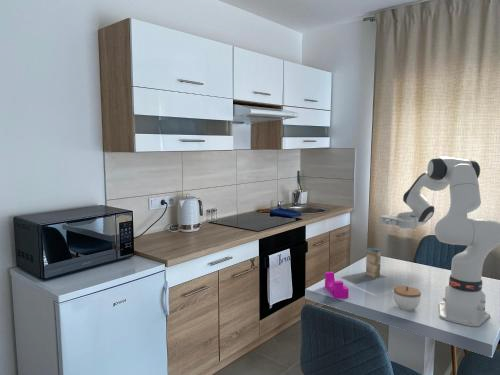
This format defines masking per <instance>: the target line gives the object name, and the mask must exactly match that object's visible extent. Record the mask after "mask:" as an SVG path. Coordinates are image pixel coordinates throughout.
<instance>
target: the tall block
mask: <svg viewBox="0 0 500 375" xmlns="http://www.w3.org/2000/svg"><path fill="white" fill-rule="evenodd" d="M381 252H382V250H381V249H380V248H377V247H369V248H366V260H365V262H366V265H365V267H366V268H365V272H366V274H367V275H369V276H372V277H376V276H380V275H381V258H382V257H381V256H382V253H381Z"/></svg>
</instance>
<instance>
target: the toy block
mask: <svg viewBox="0 0 500 375" xmlns="http://www.w3.org/2000/svg"><path fill="white" fill-rule="evenodd" d="M324 288H325V289H326V290H327V291H328V292H329V294H330V295H331V296H332V297H333V299H348V298H349V288H348V287H347V286H346V285H344V281H342V280H335V272H334V271H325V272H324Z"/></svg>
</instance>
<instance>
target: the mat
mask: <svg viewBox="0 0 500 375" xmlns="http://www.w3.org/2000/svg"><path fill="white" fill-rule="evenodd" d="M340 278H341V279H343V280H346V281H348V282H350V283H353V284H356V285H357V284H361V283H366V282H370V281H375V280H379V279H382V278H383V279H384V278H387V276H385V275H383V274H380V276H376V277H372V276H369V275H367V274H366V271H363V272H359V273H358V272H357V273H354V274H349V275H345V276H340Z"/></svg>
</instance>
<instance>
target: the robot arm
mask: <svg viewBox="0 0 500 375" xmlns="http://www.w3.org/2000/svg"><path fill="white" fill-rule="evenodd" d="M480 175H481V167H480V165H479V163H478V162H477V161H476V160H472V159H463V158H456V157H450V156H439V157H434V158H431V159H430V160H429V162H428V164H427V170H426V172H423V173H421V174H420V175H419V176H418V177H417V179H415V181H414V182H413V184H412V185H411V186H410V187H409V189H407V191H405V192H404V194H403V195H402V196H403V197H402V201H403V202H404V203H405V204H406V205H407V206H408V207H409V209H410V210H411V211H410V212H409V211H404V212H400V213H397V215H396V216H395V215H389V214H387V215H386V214H385V215H383V214H382V215H379V219H378V221H379V222H380V223H382V224H384V225H390V226H391V225H392V226H396V227H398V228H400V229H403V230H405V229H411V230H412V229H413V230H417V229H418V228H419V227H422V226H424V225H426V223H428V221H430V220H431V219H432V217H433V216H434V214H435V206H434V205H433V204H432V203H431V201H429V200H428V199H427V198H426V197H425V196H424V194H422V191H421V190H422V189H423V188H424V187H425V188H427V189H428V190H430V191H434V192H437V191H438V192H440V191H444V190H445V189H446V188H447V187H448V186H449V196H450V198H449V199H450V202H449V203H450V205H449V209H448V211H447V213H446V215H445V216H443V217H442V218H441V219H439V220H438V221H437V223H436V224H435V226H434V235H435V237H436V239H437V240H438V241H439V242H440V243H443V244H447V245H448V244H449V245H452V246H453V245H454V246H455V245H456V246H467V247H466V248H465V249H464V250H463V251H462V252H458V253H457V254H455V255H454V256H453V257H452V259H451V268H450V270H451V271H450V275H449V278H448V285H446V286H445V290H444V291H445V292H444V293H445V294H444V296H443V297H442V300H443V301H439V302H438V312H439V314H438V315H439V318H441V319H444V320H446V321H448V322H452V323H456V324H458V325H459V324H460V325H463V326H468V327H480V326H481V325H483V323H485V321H486V320H488V318H489V317H491V314H490V312H488V311H486V297H487V296H486V293H484V291H483V285H484V284H483V280H482V274H483V268H484V262H485V260H486V258H487V256H488V255H489V253H491V251H493V249H495V248H497V247H499V246H500V222H499V221H496V220H490V219H481V218H479V219H478V218H477V219H476V218H468V214H469V213H472V212H474V211H476V210H477V209H479V207H480V206H481V203H482V201H481V200H482V199H481V192H480V183H479V180H478V179H479V177H480Z"/></svg>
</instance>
